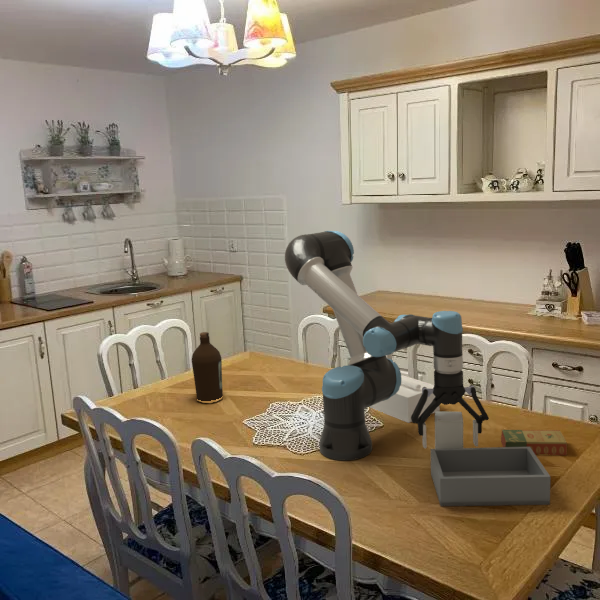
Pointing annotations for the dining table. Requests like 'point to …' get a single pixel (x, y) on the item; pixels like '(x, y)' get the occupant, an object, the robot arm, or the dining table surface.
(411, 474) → the dining table surface
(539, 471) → the open box
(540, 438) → the carton
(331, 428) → the robot arm
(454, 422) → the supplement box
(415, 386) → the hammer embossed block
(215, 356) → the olive oil
